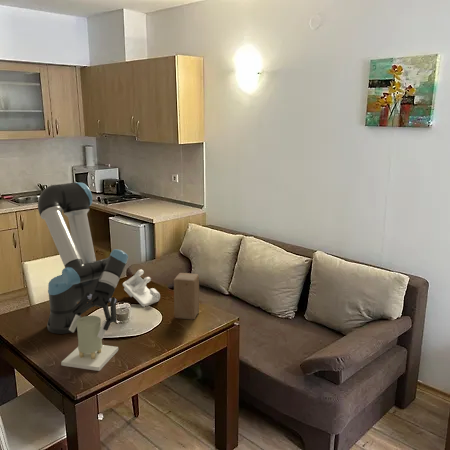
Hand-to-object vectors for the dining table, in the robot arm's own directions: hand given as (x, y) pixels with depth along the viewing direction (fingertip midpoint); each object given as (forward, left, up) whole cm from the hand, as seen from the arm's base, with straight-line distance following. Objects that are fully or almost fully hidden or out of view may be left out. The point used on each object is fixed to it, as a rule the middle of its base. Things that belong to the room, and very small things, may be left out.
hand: (85, 334), depth 179 cm
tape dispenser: (-3, +61, -11) cm, 62 cm away
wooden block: (+25, +49, -11) cm, 57 cm away
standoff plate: (0, +2, -11) cm, 11 cm away
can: (0, +2, -7) cm, 7 cm away
